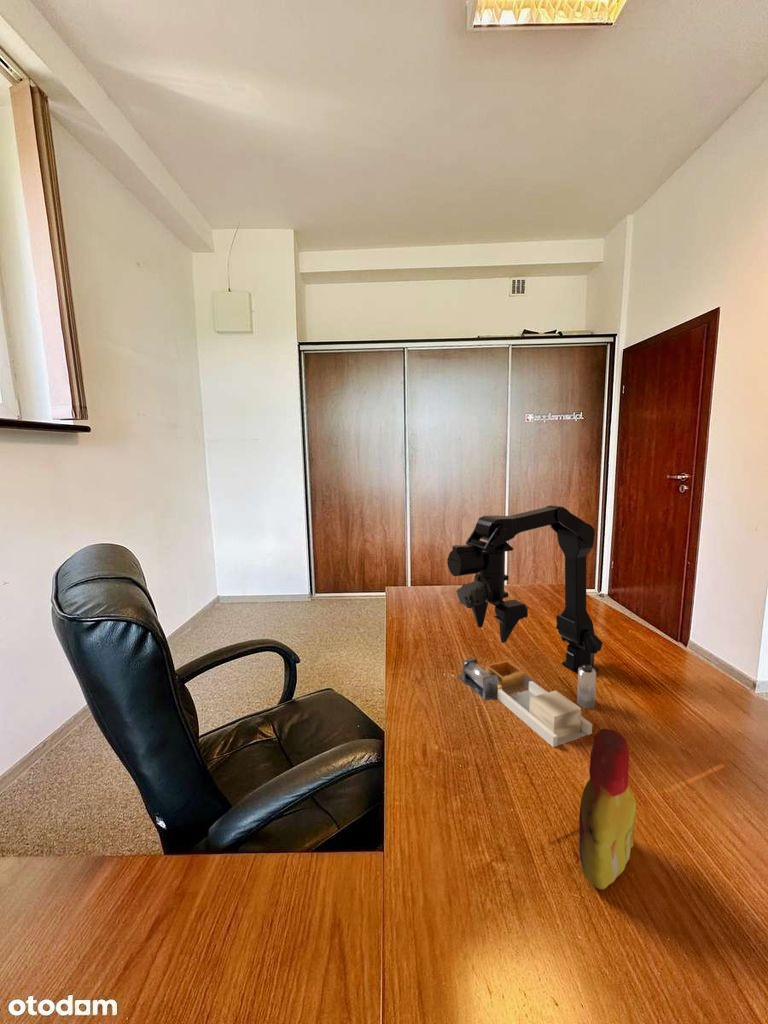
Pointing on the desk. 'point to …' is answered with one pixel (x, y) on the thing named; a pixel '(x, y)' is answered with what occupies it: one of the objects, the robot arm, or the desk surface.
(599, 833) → the bottle
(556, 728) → the pale wooden block
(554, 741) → the bay
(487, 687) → the grey metal holder
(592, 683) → the capped metal canister
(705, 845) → the desk surface
